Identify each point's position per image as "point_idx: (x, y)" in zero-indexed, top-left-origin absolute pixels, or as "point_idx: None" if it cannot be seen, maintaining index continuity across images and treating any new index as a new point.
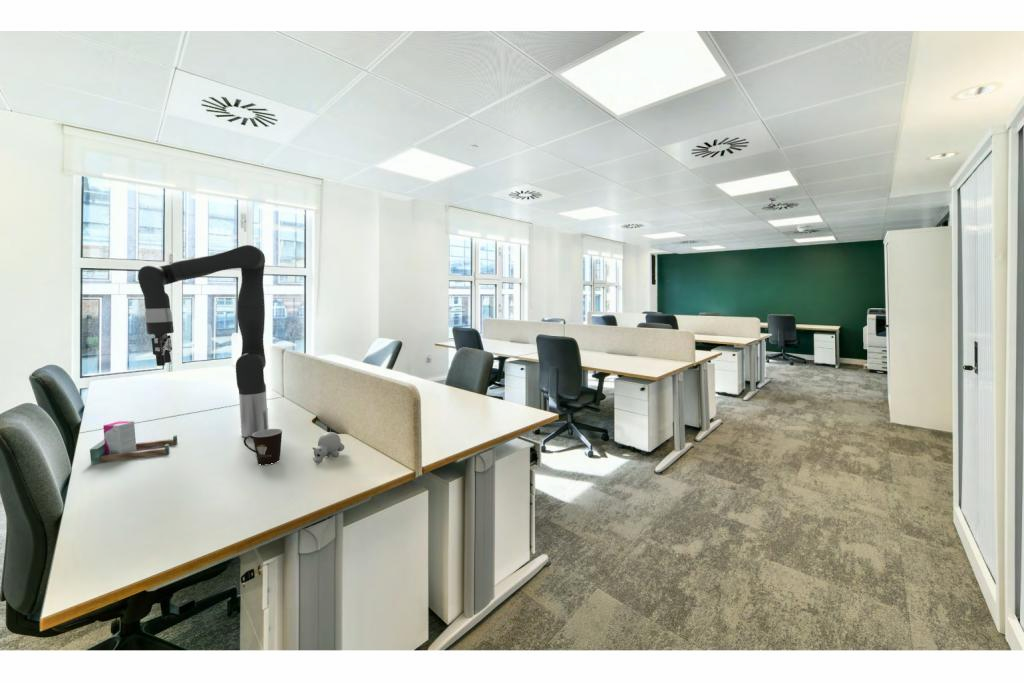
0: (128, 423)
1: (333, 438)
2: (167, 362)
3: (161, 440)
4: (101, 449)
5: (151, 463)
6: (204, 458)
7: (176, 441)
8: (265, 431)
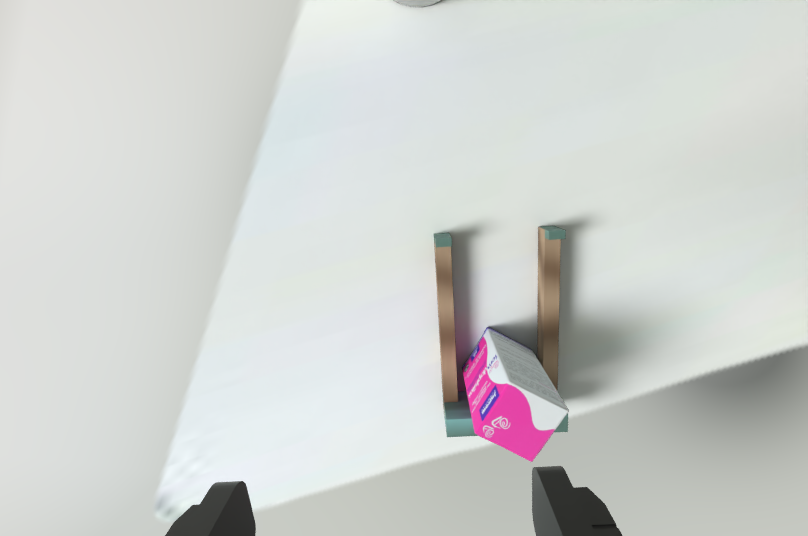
0: (531, 391)
1: None
2: (250, 505)
3: (442, 281)
4: None
5: (631, 246)
6: (669, 87)
7: (446, 234)
8: None
